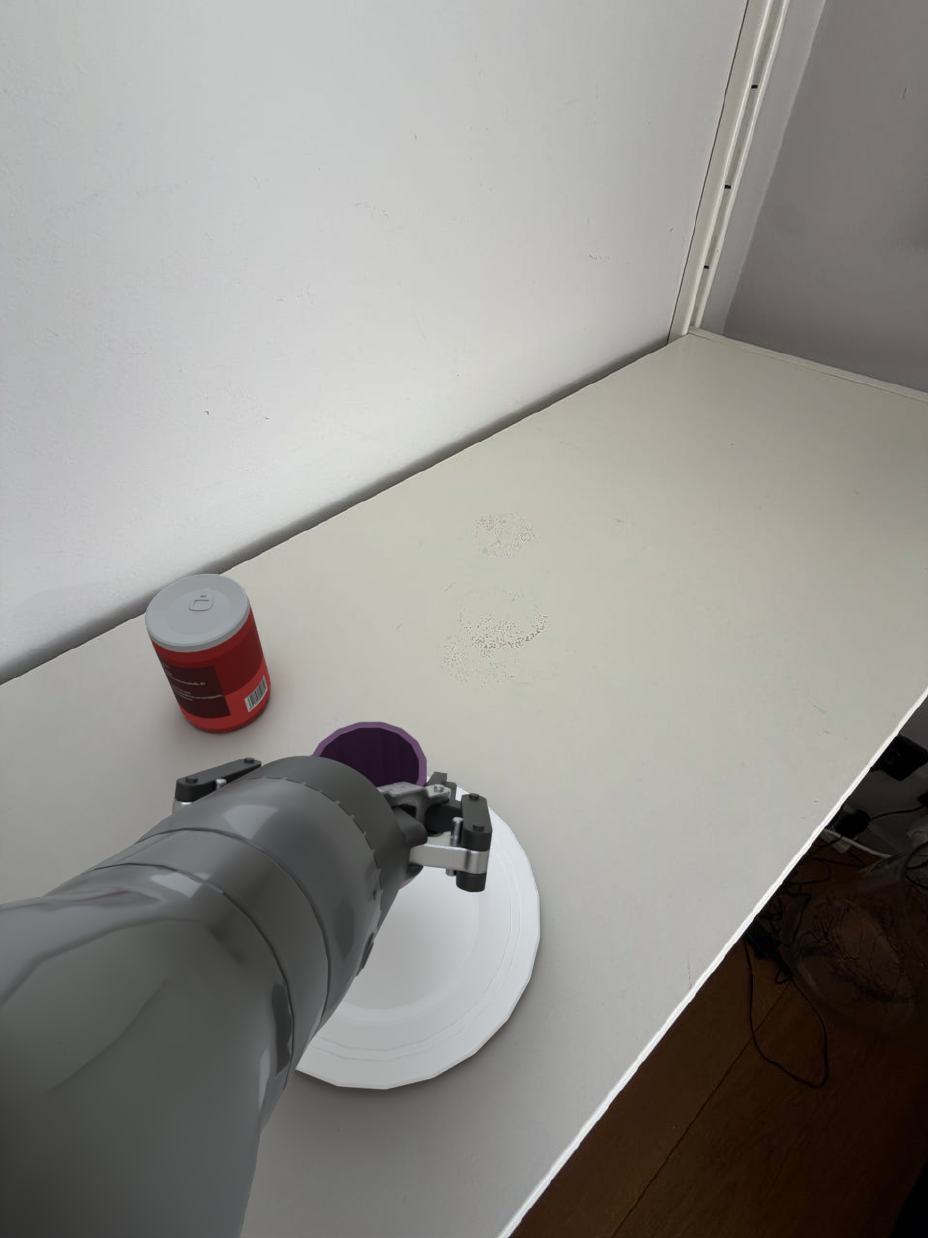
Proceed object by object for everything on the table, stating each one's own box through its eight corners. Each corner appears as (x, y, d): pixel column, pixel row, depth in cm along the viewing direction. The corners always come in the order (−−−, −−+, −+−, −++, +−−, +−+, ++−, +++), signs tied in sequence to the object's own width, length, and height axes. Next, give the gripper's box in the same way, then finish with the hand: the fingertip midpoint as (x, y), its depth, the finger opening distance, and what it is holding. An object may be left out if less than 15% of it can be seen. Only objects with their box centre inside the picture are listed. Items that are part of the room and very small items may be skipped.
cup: (343, 914, 38) (326, 843, 33) (312, 821, 42) (292, 743, 37) (444, 871, 40) (445, 797, 35) (406, 786, 44) (401, 707, 38)
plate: (517, 1133, 40) (520, 1127, 39) (173, 1055, 43) (165, 1046, 41) (552, 809, 55) (555, 796, 53) (294, 764, 57) (290, 750, 56)
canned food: (267, 655, 65) (243, 564, 57) (278, 723, 60) (254, 633, 52) (179, 673, 63) (143, 582, 56) (183, 745, 58) (143, 656, 50)
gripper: (502, 817, 22) (516, 733, 39) (70, 747, 23) (264, 695, 40) (470, 1056, 22) (498, 869, 39) (41, 971, 24) (247, 826, 40)
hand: (378, 781), depth 39 cm, fingers closed on cup, 6 cm apart
